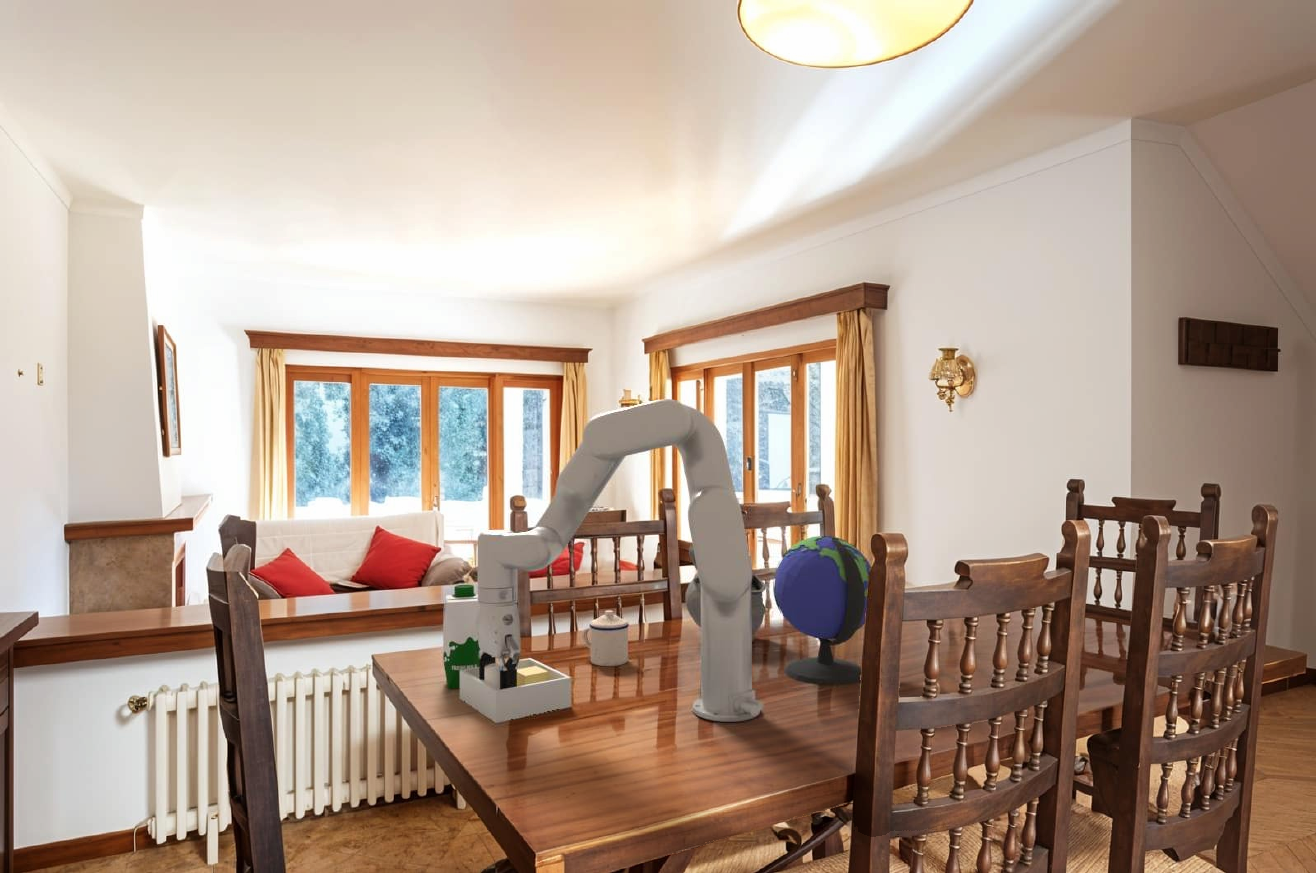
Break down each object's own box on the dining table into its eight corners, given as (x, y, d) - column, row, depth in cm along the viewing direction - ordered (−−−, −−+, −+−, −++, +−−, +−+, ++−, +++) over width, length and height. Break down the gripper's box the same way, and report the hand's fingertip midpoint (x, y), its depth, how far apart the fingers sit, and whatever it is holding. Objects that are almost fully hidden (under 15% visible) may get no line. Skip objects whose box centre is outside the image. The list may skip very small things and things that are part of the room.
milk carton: (484, 675, 174) (484, 583, 175) (487, 687, 166) (487, 590, 166) (442, 679, 172) (442, 585, 172) (443, 691, 163) (443, 592, 164)
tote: (571, 707, 153) (571, 677, 153) (495, 723, 144) (495, 691, 144) (530, 685, 167) (530, 658, 168) (459, 698, 159) (459, 670, 159)
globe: (892, 669, 178) (891, 533, 179) (856, 694, 160) (855, 544, 160) (799, 654, 191) (798, 528, 191) (756, 677, 173) (755, 537, 173)
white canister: (515, 704, 153) (515, 667, 153) (491, 709, 150) (490, 671, 150) (504, 697, 157) (504, 661, 157) (480, 702, 154) (480, 665, 154)
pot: (671, 636, 210) (671, 540, 210) (740, 628, 218) (739, 536, 219) (709, 655, 191) (709, 549, 191) (782, 645, 200) (782, 544, 200)
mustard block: (548, 697, 157) (548, 671, 157) (525, 702, 154) (525, 676, 154) (536, 690, 161) (536, 666, 161) (513, 695, 158) (513, 670, 158)
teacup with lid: (636, 660, 187) (636, 609, 187) (613, 669, 179) (613, 616, 179) (595, 652, 193) (595, 604, 193) (571, 661, 186) (571, 611, 186)
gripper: (535, 599, 149) (535, 692, 149) (497, 586, 163) (497, 671, 163) (497, 604, 145) (497, 699, 145) (461, 590, 159) (462, 677, 159)
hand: (497, 684), depth 154 cm, fingers open, 9 cm apart
